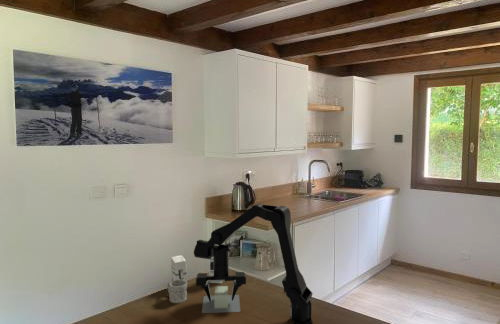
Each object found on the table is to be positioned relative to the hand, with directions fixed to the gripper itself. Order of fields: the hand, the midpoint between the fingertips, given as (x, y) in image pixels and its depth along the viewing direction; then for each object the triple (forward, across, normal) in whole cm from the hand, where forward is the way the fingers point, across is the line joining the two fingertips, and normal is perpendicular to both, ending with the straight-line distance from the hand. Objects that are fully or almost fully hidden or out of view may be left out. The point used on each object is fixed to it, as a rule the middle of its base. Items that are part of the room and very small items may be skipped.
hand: (221, 300), depth 139 cm
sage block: (+1, 0, 0) cm, 1 cm away
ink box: (+1, +18, -18) cm, 25 cm away
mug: (+2, +18, -6) cm, 19 cm away
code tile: (+1, 0, 0) cm, 1 cm away
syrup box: (+1, +2, -22) cm, 22 cm away
